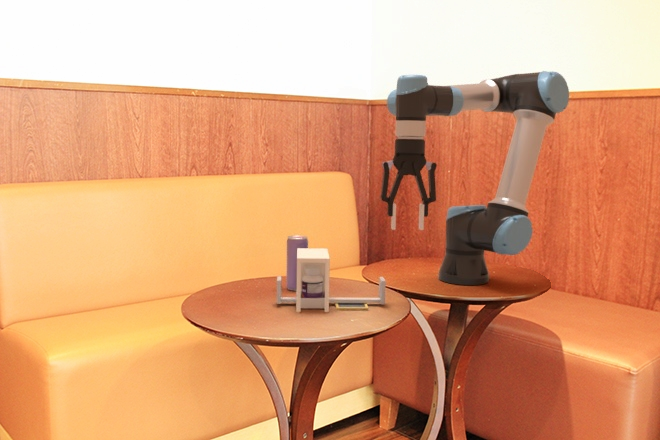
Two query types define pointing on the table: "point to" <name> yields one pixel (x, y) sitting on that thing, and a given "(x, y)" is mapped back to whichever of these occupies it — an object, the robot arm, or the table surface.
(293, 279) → the beverage can
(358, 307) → the tray
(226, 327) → the table surface
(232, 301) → the table surface
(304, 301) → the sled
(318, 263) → the tunnel
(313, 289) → the pill bottle
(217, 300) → the table surface
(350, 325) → the table surface
